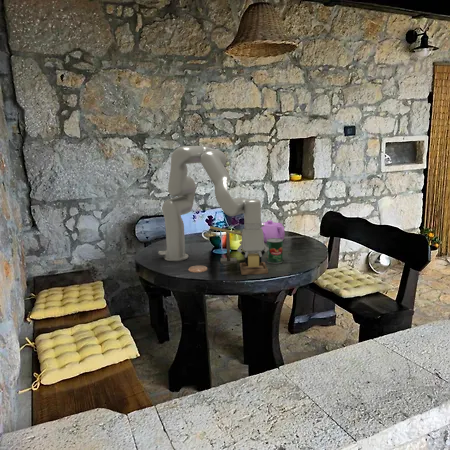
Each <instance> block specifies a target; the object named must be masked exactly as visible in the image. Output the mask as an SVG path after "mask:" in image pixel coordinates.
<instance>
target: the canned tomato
mask: <svg viewBox="0 0 450 450" xmlns="http://www.w3.org/2000/svg"><path fill="white" fill-rule="evenodd" d="M266 246H267V247H268V248H269V250H268V251H267V252H266V262H267V263H268V264H271V265H272V264H281V263H283V262H284V261H283V260H284V248H283V247H284V240H283V239H280V238H270V239H267V243H266Z"/></svg>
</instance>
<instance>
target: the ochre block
mask: <svg viewBox="0 0 450 450" xmlns="http://www.w3.org/2000/svg"><path fill="white" fill-rule="evenodd" d="M248 267H259V253H255V254H248Z"/></svg>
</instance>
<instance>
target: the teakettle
mask: <svg viewBox="0 0 450 450" xmlns="http://www.w3.org/2000/svg"><path fill="white" fill-rule="evenodd" d="M261 223H262V224H264V226H263V227H261V228H262V230H263V236H264V243H265V244H267V239H270V238H280V239H283V241H284V239H285V237H286V234H285V226H283V223H282V222H274V221H273V220H272V219H268V220H266V221H264V222H261Z"/></svg>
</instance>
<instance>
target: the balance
mask: <svg viewBox="0 0 450 450" xmlns="http://www.w3.org/2000/svg"><path fill="white" fill-rule="evenodd" d="M209 230H215V231H218V232H219V231H220V232H223V233H225V234H226V235H225V236H226V237H225V238H226V243H225V244H226V257H220V264H221V265H225V264H237V263H238V259H237V257H231V246H230V245H231V244H230V243H231V241H230V239H231V237H230V234H234V235H237V236H241V237H242V232H238V231H234V230H229V229H226V228H225V229H224V228H220V227H217V226H211V225H209ZM203 236H204V237H206V238H212V237H216V236H217V233H215V232H211V231H209V232H207V233H204V235H203ZM241 244H242V240H241V241H239V245H241Z"/></svg>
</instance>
